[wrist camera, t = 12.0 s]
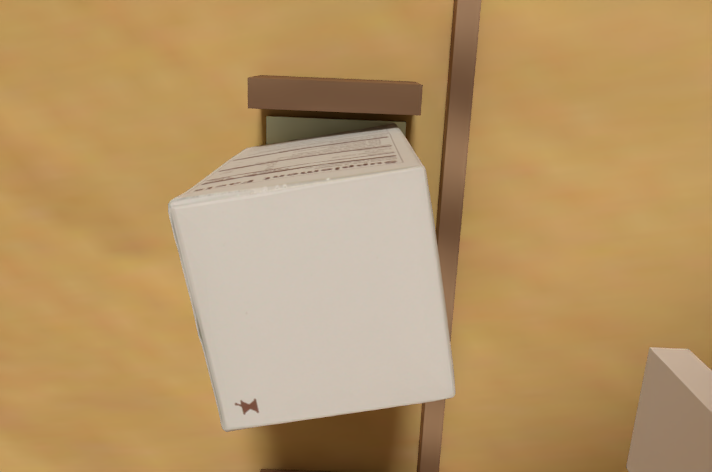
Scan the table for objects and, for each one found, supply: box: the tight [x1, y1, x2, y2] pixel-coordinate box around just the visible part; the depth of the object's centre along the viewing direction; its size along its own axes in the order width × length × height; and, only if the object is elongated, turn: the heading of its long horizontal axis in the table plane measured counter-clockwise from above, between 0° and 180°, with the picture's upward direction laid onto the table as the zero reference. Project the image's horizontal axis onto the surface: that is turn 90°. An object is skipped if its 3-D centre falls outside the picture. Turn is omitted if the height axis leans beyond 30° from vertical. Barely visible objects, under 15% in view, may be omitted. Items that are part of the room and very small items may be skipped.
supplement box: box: [168, 123, 455, 432], centre depth 24 cm, size 7×7×13 cm
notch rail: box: [248, 0, 481, 472], centre depth 28 cm, size 32×10×4 cm, turn 178°
